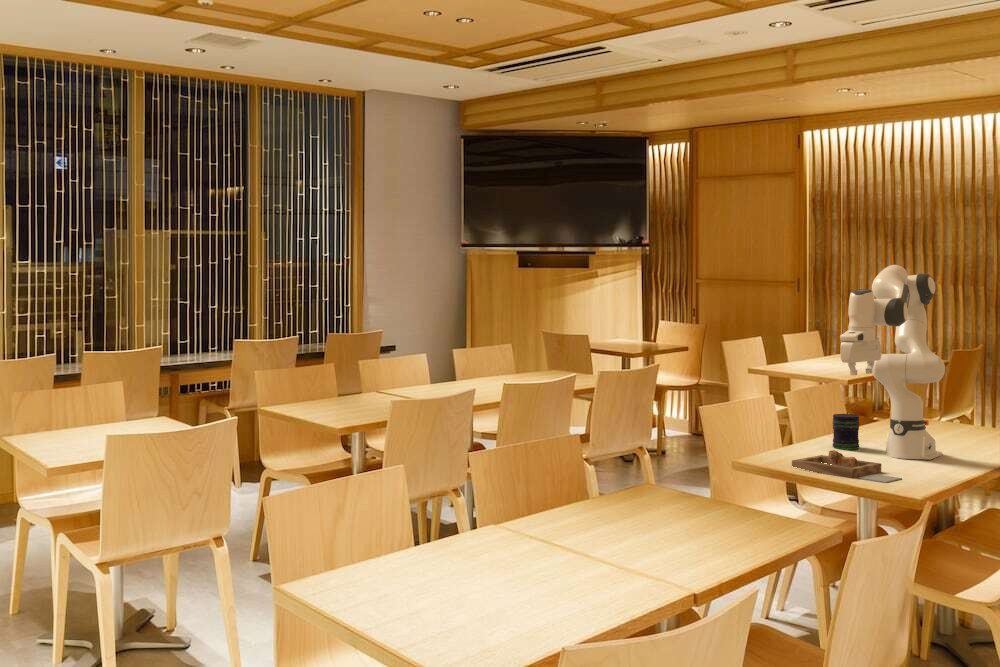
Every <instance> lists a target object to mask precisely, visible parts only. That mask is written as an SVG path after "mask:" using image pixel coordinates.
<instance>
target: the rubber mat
mask: <svg viewBox="0 0 1000 667" xmlns="http://www.w3.org/2000/svg"><path fill="white" fill-rule="evenodd" d="M857 479H858V480H863V481H871V482H877V483H882V484H887V483H888V484H889V483H891V482H897V481H900V480H901V481H902V480H903V478H902V477H896V476H890V475H883V474H879V473H875V474H870V475H865V476H861V477H857Z"/></svg>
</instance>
